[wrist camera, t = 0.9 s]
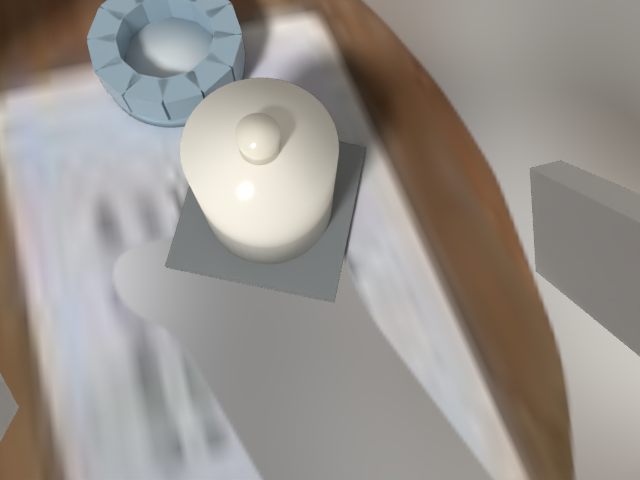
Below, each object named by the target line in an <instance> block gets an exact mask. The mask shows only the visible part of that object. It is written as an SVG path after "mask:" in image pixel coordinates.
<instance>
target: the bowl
mask: <svg viewBox="0 0 640 480" xmlns="http://www.w3.org/2000/svg"><path fill="white" fill-rule="evenodd" d="M87 39H88V40H87V44H88V48H89V52H90V56H91V60H92V64H93V68H94V71H95V73H96V75H97V76H98V78H99V80H100V81H101V83H102V85H103V86H104V88H105V90H106V91H107V92H108V93H109V94H110V95H111V96H112V97H113V99H114V100H115V101H116V103H117V104H118V105H119V106H120V107H121V108H122V109H123V110H124V111H125V112H126V113H128V114H129V115H130V116H132V117H133V118H135V119H137V120H139V121H141V122H144V123H146V124H150V125H154V126H159V127H184V126H185V124H186V122H187V120H188V118H189V117H190V115H191V113H192V112H193V111H194V109H195V108H196V107H197V105H198V104H199V103H200V102H201V101H202V100H203V99H204V98H206V97H207V96H208V95H209V94H211V93H212V92H214V91H215V90H217V89H219V88H220V87H223V86H225V85H227V84H229V83H232V82H235V81H238V80H243V76H244V69H245V61H244V59H245V48H244V42H243V36H242V31H241V29H240V26H239V23H238V20H237V17H236V14H235V11H234V8H233V5H232V4H231V2H230V1H229V0H107V1H106V2H105V3H103V4H102V5H101V8H99V9H98V11H97V14H96V16H95V19H94V21H93V24H92V26H91V29H90V31H89V34H88V36H87Z"/></svg>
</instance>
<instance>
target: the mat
mask: <svg viewBox="0 0 640 480" xmlns="http://www.w3.org/2000/svg"><path fill="white" fill-rule="evenodd" d="M365 149H366V147H363V146H358V145H353V144H348V143H343V142H339V155H338V163H337V171H336V178H335V186H334V194H333V202H332V209H331V216H330V220H329V223H328V226H327V228H326V230H325V232H324V234H323V235H322V237H321V238H320V240H319V241H318V242H317V243H316V244H315V245H314V246H313V247H312V248H311V249H310V250H309V251H307V252H306V253H304V254H303V255H301V256H299V257H297V258H295V259H293V260H290V261H287V262H283V263H277V264H259V263H253V262H250V261H246V260H244V259H241V258H239V257H237V256H236V255H234V254H232V253H231V252H230V251H228V250H227V249H226V248H225V247H224V246H223V245H222V244H221V243H220V242H219V241H218V239H217V238H216V237H215V235H214V233H213V231H212V229H211V227H210V225H209V223H208V221H207V219H206V217H205V215H204V213H203V211H202V209H201V207H200V205H199V203H198V201H197V199H196V197H195V195H194V193H193V191H192V189H191V187H190V185H189V189H188V192H187V195H186V199H185V202H184V205H183V208H182V212H181V215H180V218H179V222H178V225H177V228H176V231H175V235H174V238H173V241H172V245H171V248H170V251H169V254H168V258H167V261H166V264H165V266H166V267H167V268H171V269H176V270H181V271H186V272H191V273H195V274H200V275H205V276H209V277H214V278H219V279H224V280H229V281H233V282H238V283H243V284H248V285H252V286H257V287H262V288H267V289H271V290H276V291H281V292H286V293H291V294H295V295H300V296H305V297H309V298H314V299H319V300H324V301H329V302H335V297H336V292H337V287H338V282H339V277H340V272H341V267H342V262H343V257H344V253H345V248H346V243H347V238H348V233H349V228H350V223H351V218H352V213H353V208H354V203H355V198H356V193H357V188H358V183H359V178H360V173H361V168H362V163H363V158H364V154H365Z"/></svg>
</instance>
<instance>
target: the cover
mask: <svg viewBox="0 0 640 480" xmlns="http://www.w3.org/2000/svg"><path fill="white" fill-rule="evenodd" d="M338 155H339V141H338V134H337V130H336V127H335V124H334V122H333V120H332V118H331V116H330V114H329V113H328V111H327V110H326V108H325V107H324V106H323V105H322V103H321V102H320V101H319V100H318V99H317V98H315V97H314V96H313V95H312V94H310V93H309V92H308V91H306V90H305V89H303V88H301V87H299V86H297V85H295V84H292V83H290V82H287V81H283V80H279V79H273V78H248V79H243V80H238V81H235V82H232V83H229V84H227V85H225V86H223V87H220V88H219V89H217V90H215V91H214V92H212V93H211V94H209V95H208V96H207V97H206V98H204V99H203V100H202V101H201V102H200V103H199V104H198V105H197V107H196V108H195V109H194V111H193V112H192V113H191V115H190V117H189V118H188V120H187V122H186V124H185V127H184V129H183V133H182V137H181V143H180V159H181V164H182V169H183V171H184V174H185V177H186V179H187V181H188V183H189V185H190V187H191V189H192V191H193V193H194V195H195V197H196V199H197V201H198V203H199V205H200V207H201V209H202V211H203V213H204V215H205V217H206V219H207V221H208V223H209V225H210V227H211V229H212V231H213V233H214V235H215V237H216V238H217V239H218V241H219V242H220V243H221V244H222V245H223V246H224V247H225V248H226V249H227V250H228V251H230V252H231V253H232V254H234V255H236V256H237V257H239V258H241V259H244V260H246V261H250V262H253V263H259V264H277V263H283V262H287V261H290V260H293V259H295V258H297V257H299V256H301V255H303V254H304V253H306V252H307V251H309V250H310V249H311V248H312V247H313V246H314V245H315V244H316V243H317V242H318V241H319V240H320V238H321V237H322V235H323V234H324V232H325V230H326V228H327V226H328V223H329V220H330V216H331V209H332V202H333V194H334V186H335V178H336V171H337V163H338Z"/></svg>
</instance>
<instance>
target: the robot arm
mask: <svg viewBox="0 0 640 480" xmlns="http://www.w3.org/2000/svg"><path fill="white" fill-rule="evenodd" d="M530 179H531V195H532V213H533V230H534V246H535V264H536V271H537V272H538V273H539V274H540V275H541V276H543V277H544V278H545V279H546V280H547V281H549V282H550V283H551V284H552V285H553V286H555V287H556V288H557V289H558V290H560V291H561V292H562V293H564V295H566V296H567V297H568V298H569V299H571V300H572V301H573V302H574V303H575V304H577V305H578V306H579V307H580V308H581V309H583V310H584V311H585V312H586V313H588V314H589V315H590V316H591V317H593V318H594V319H595V320H596V321H597V322H599V323H600V324H601V325H602V326H603V327H605V328H606V329H607V330H608V331H610V332H611V333H612V334H613V335H614V336H616V337H617V338H618V339H619V340H620V341H622V342H623V343H624V344H625V345H627V346H628V347H629V348H630V349H631V350H633V351H634V352H635V353H636V354H638V355H639V356H640V194H638V193H636V192H633V191H631V190H629V189H626V188H624V187H622V186H620V185H617V184H615V183H613V182H610V181H608V180H605V179H603V178H601V177H598V176H596V175H594V174H591V173H589V172H587V171H584V170H582V169H580V168H577V167H575V166H573V165H570V164H568V163H566V162H563V161H561V160H560V161H556V162H552V163H548V164H544V165H540V166H536V167H532V168H530ZM18 408H19V407H18V405H17V403H16V401H15V400H14V398H13V396H12V394H11V392H10V390H9V388H8V386H7V385H6V383H5V381H4V379H3V377H2V375H1V373H0V441H1V440H2V438H3V436H4V434H5V432H6V430H7V428H8V427H9V425H10V423H11V421H12V419H13V417H14V415H15V414H16V412H17V410H18Z"/></svg>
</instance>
